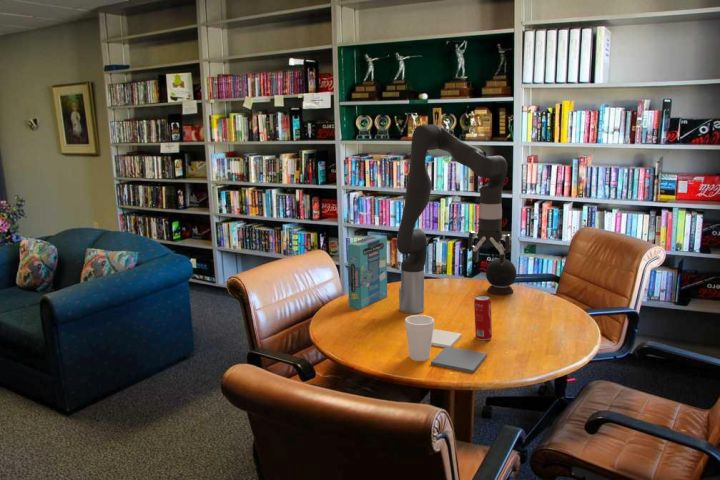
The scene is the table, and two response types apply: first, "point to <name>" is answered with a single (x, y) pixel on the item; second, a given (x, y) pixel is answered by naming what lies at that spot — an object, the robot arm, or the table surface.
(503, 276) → the ball on round base
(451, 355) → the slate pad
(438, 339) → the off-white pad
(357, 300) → the game box
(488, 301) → the beverage can
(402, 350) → the table surface
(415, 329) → the foam cup
